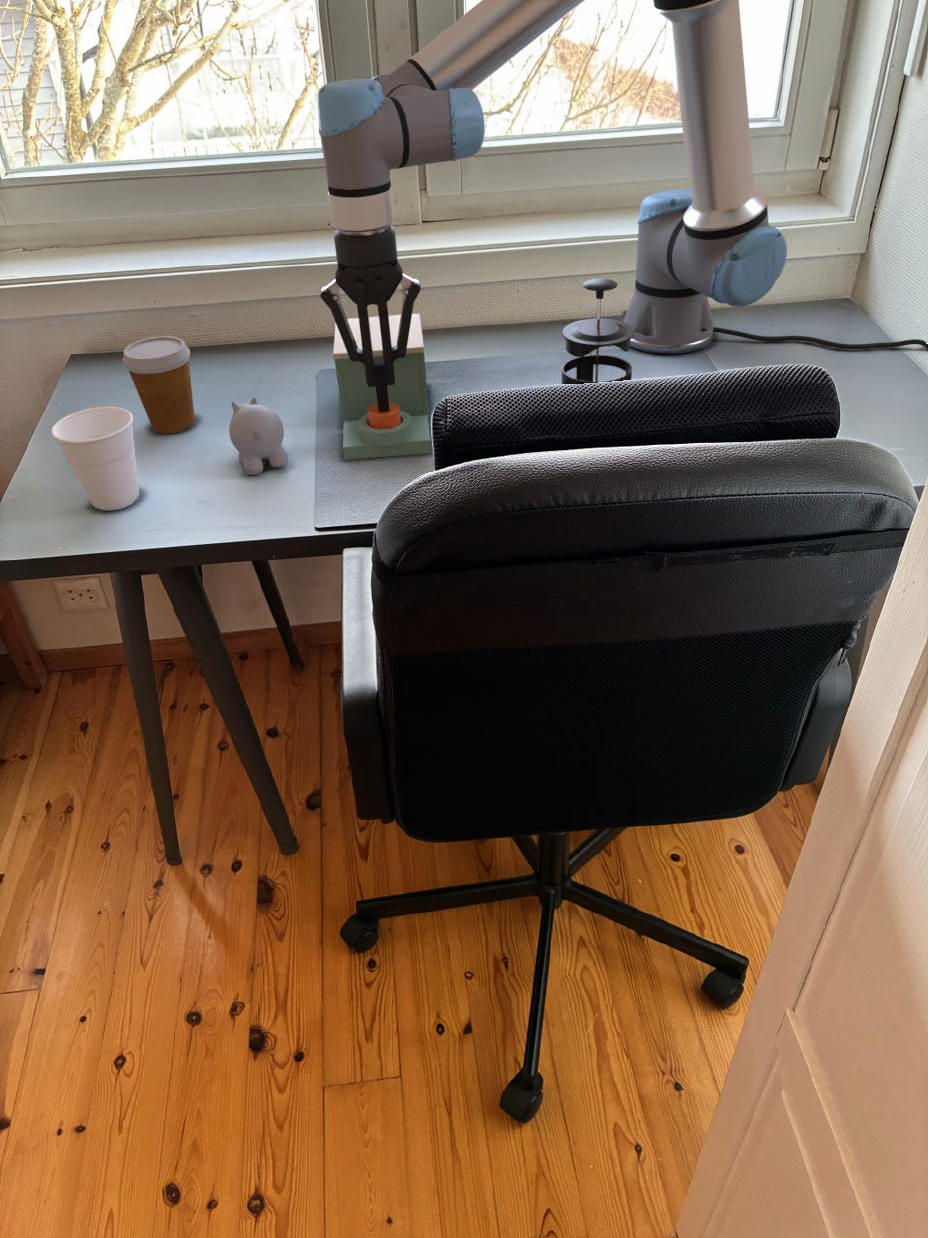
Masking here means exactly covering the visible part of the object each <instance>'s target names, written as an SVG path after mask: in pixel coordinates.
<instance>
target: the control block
mask: <svg viewBox="0 0 928 1238" xmlns="http://www.w3.org/2000/svg"><path fill="white" fill-rule="evenodd" d="M400 418H401V424H399V425H398V426H395V427H393V428H388V429H376V428H372V427H370V426H369V419H368V414H365V415H364V416H363V417H362V418H360V419H359V420H358V421H349V422H344V425H343V435H342V436H343V437H342V438H343V439H342V452H343V459H344V461H350V460H361V459H373V458H374V459H375V458H385V457H386V458H387V457H400V456H411V455H421V454H422V455H424V454H432V447H431V435H430V427H429V421H428V418H427V415H424V416H410V415H409V414H407V413H406V412H404V411H400Z"/></svg>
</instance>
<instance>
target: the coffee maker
mask: <svg viewBox="0 0 928 1238" xmlns="http://www.w3.org/2000/svg"><path fill="white" fill-rule="evenodd" d="M382 357H383V356H373V358H382ZM393 364H394V374H395V383H394V385H387V388H388V397H389V402H390V403H394V404H397V405H398V406H399V408H400V411H404V412H406V413H407V414H409V415H410V416H424V415H427V418H428V422H429V421H430V412H429V411H430V409H429V400H428V399H429V397H428V385H427V372H426V358H425V351H424V352H423V353H410V354H406V355H405V357H403V358H398V359H396V360H395V361H394V363H393ZM334 365H335V371H336V372H335V373H336V374H335V375H336V381H337V387H338V396H339V402H340V408H341V417H342V425H343V426H344V422H349V421H358V420H359V419H360V418H362V417H363V416H364V415H365V414H368V408H369V407H370V406H372V405H374V404H377V395H376V387H368V385H367V382H366V374H365V366H364V364H363V363H361V362H358V361H356V362H352V361H351V360H350V358H345V359H334Z"/></svg>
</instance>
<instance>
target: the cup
mask: <svg viewBox="0 0 928 1238" xmlns="http://www.w3.org/2000/svg"><path fill="white" fill-rule="evenodd" d="M133 422H134V415H133V414H132V412H131V411H129V410H128V409H125V408H122V407H117V406H98V407H97V406H96V407H91V408H87V409H82V410H78V411H75V412H73V413H70V414H68V415H65V416H64V417H62V418H60V419H59V420H58V421H56V423H54V424H53V426H52V427H51V430H50V434H51V436H52V438H53V439H54V440H56V442H57V444H58V446H59V447H60V449H61V451H62V453H63V455H64V456H65V458H66V460H67V462H68V464H69V465H70V467H71V470H72V471H73V473H74V475H75V477H76V478H77V480H78V481H79V484H80V485H81V487H82V489H83V491H84V493H85V495H86V497H87V498H88V500H89V502H90V504H91V505H92V507H94V508H96V509H98V510H100V511H110V512H111V511H117V510H122V509H124V508H128V507H129V506H131V505H133V504H134V503H135V502H136V501H137V500H138V498H139V496H140V487H139V485H140V484H139V477H138V467H137V460H136V450H135V439H134V427H133Z"/></svg>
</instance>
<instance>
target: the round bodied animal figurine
mask: <svg viewBox="0 0 928 1238" xmlns="http://www.w3.org/2000/svg"><path fill="white" fill-rule="evenodd" d="M231 409H232V411H233V413H232V417H231V420H230V423H229V426H228V427H229V428H228V434H229V439H230V442H231V443H232V445H233V447H234V448H235V449H236V451H237V452H238V462H239V465H240V466H242V468H243V471H244V473H245V474H247V475H252V476H255V475H259V474H261V473H262V472H263V471H264V464H267V461H268V462H269V465H270V466H271V467H272V468H283V467H285V466H286V465H287V464H288V462H289V458H288V454H287V452H286V450H285V448H284V447H283V445H282V443H283V441H284V438H285V437H284V435H285V432H284V431H285V430H284V429H285V428H284V425H283V422H282V420H281V418H280V416H279V415H278V414H277V413H276V411H274V410H273V409H271V408H270V407H268V406H266V405H263V404H258V400H257V397H253V398H252V399H251V400H250V402H249V403H248V402H247V403H240V404H238V403H237V402H235V401H231Z"/></svg>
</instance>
